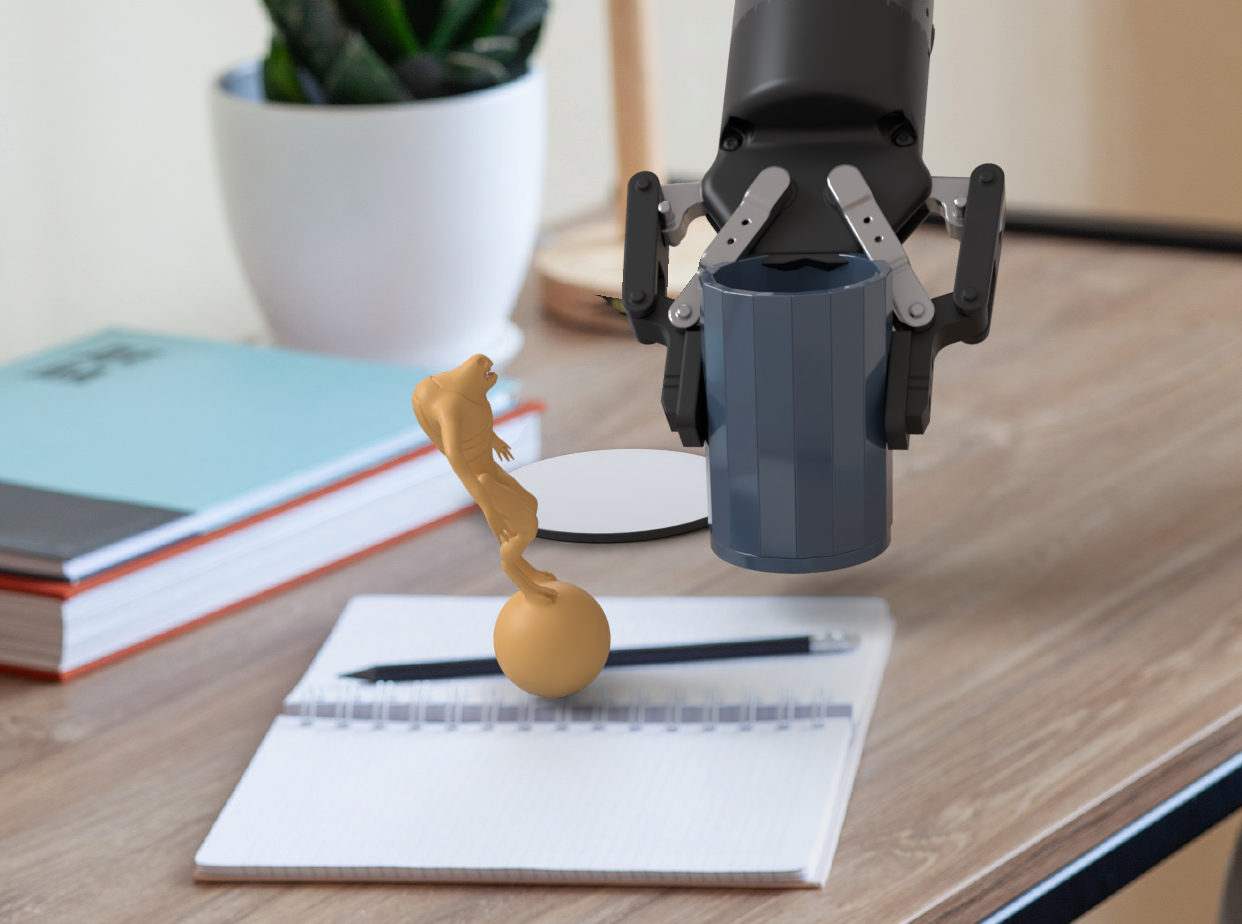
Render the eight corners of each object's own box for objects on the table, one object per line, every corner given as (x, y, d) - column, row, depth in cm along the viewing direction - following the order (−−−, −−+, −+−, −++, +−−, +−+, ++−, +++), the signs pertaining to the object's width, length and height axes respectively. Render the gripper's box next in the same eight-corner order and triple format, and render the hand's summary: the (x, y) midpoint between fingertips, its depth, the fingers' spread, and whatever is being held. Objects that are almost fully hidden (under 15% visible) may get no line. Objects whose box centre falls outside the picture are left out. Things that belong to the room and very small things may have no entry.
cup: (906, 514, 79) (907, 250, 74) (871, 579, 73) (870, 297, 69) (735, 506, 81) (726, 248, 77) (689, 568, 75) (677, 294, 71)
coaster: (771, 463, 92) (771, 455, 92) (706, 550, 83) (706, 541, 83) (537, 451, 96) (537, 443, 96) (450, 533, 87) (449, 524, 87)
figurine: (618, 741, 68) (601, 383, 63) (433, 752, 68) (401, 395, 63) (608, 641, 75) (592, 314, 70) (441, 651, 75) (413, 325, 70)
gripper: (625, -12, 77) (571, 388, 72) (1023, -31, 74) (998, 389, 68) (660, 110, 84) (614, 483, 79) (1026, 98, 80) (1003, 489, 75)
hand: (792, 438), depth 74 cm, fingers closed on cup, 6 cm apart
